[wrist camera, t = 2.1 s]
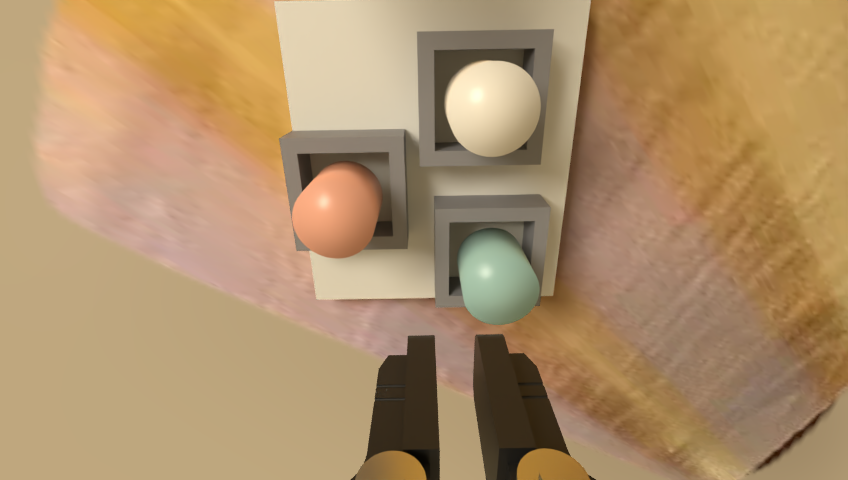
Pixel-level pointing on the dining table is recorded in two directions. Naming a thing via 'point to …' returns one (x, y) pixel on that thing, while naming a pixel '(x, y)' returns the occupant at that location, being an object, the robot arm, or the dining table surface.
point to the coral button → (338, 210)
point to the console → (428, 132)
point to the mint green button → (496, 277)
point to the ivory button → (492, 107)
